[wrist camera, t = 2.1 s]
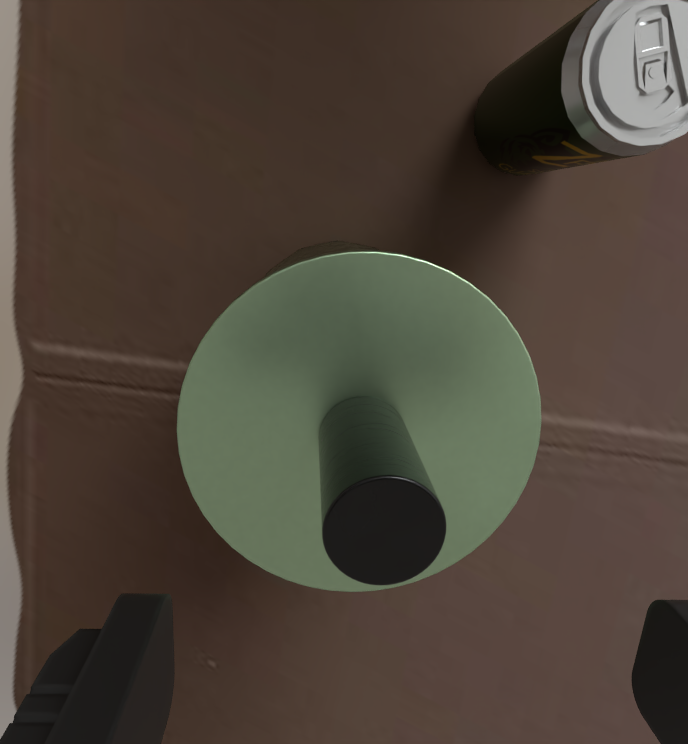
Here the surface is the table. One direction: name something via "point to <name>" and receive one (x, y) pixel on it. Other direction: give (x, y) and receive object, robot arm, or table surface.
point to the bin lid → (358, 420)
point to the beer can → (591, 90)
